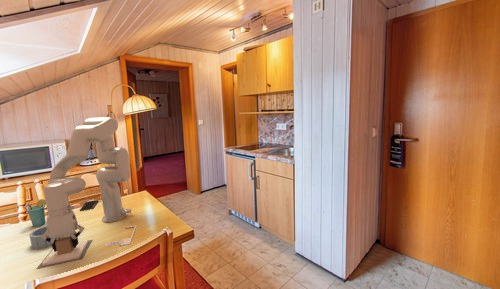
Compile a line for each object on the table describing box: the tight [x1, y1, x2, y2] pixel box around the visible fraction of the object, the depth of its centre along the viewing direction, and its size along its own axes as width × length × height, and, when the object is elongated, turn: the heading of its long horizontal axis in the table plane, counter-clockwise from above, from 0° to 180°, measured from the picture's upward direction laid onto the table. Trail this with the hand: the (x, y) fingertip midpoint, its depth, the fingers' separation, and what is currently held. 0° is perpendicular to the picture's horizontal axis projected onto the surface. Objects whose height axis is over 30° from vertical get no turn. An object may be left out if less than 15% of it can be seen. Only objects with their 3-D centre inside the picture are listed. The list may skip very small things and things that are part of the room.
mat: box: [36, 239, 94, 270], centre depth 103 cm, size 16×16×1 cm
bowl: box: [29, 225, 62, 250], centre depth 113 cm, size 12×12×6 cm
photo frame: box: [104, 225, 137, 247], centre depth 115 cm, size 15×1×18 cm
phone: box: [79, 199, 99, 212], centre depth 157 cm, size 8×1×15 cm
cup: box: [22, 198, 46, 228], centre depth 130 cm, size 14×8×15 cm, turn 10°
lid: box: [42, 235, 89, 266], centre depth 103 cm, size 13×13×7 cm
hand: (66, 247), depth 103 cm, fingers open, 6 cm apart
